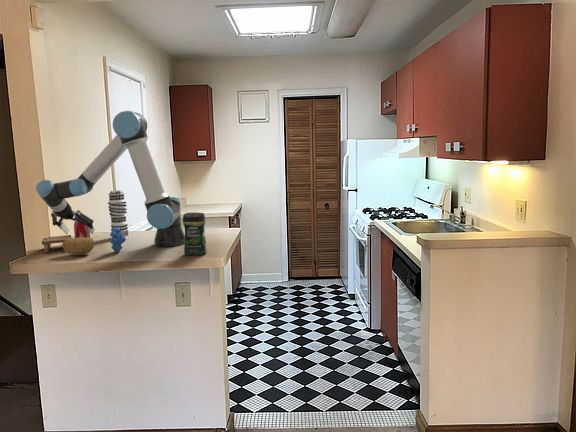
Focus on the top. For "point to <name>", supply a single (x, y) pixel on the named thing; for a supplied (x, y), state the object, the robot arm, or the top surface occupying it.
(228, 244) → the top surface
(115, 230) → the grapes
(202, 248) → the coffee jar
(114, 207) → the decorative candle
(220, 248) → the top surface
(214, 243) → the top surface
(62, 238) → the shelf stand
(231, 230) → the top surface
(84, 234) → the soda can
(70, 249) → the potato
